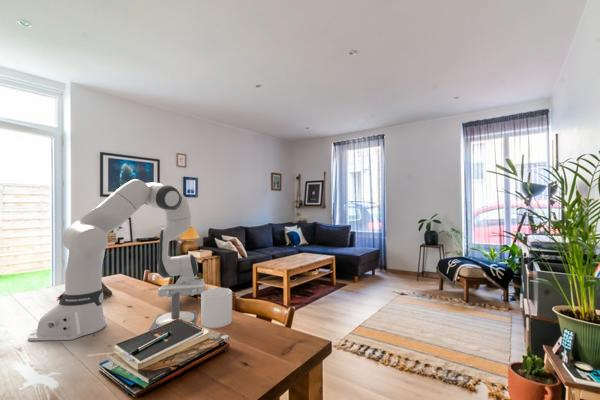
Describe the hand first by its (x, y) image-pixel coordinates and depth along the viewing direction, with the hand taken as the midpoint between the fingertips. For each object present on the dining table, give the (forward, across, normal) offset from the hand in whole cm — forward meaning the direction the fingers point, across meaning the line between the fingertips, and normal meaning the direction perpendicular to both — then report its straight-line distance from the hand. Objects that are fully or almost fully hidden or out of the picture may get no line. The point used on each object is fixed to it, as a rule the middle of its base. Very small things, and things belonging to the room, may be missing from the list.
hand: (180, 294), depth 129 cm
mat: (+12, 0, +7) cm, 14 cm away
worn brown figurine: (-28, -42, +7) cm, 51 cm away
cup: (+17, +16, +7) cm, 24 cm away
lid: (+12, 0, +6) cm, 13 cm away
